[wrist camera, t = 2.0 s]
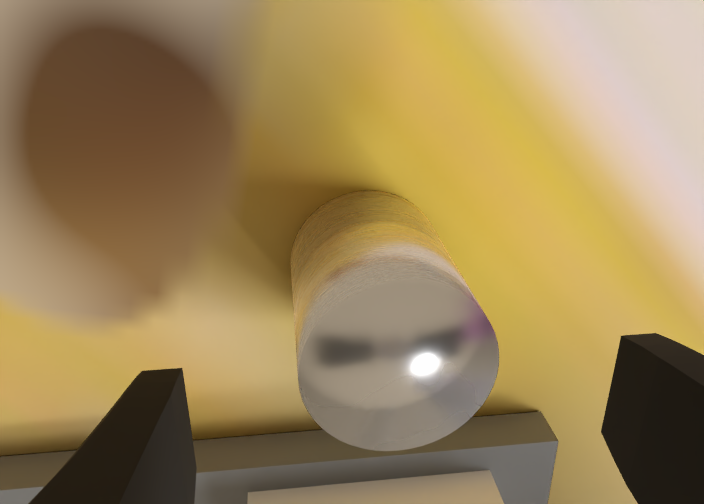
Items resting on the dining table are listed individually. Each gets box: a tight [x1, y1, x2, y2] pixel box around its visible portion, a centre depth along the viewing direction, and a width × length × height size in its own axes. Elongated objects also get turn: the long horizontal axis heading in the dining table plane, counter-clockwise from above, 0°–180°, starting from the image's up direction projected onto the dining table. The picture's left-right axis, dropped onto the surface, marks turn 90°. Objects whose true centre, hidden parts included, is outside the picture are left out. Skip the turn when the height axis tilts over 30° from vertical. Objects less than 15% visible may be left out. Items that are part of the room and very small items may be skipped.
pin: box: [291, 191, 499, 451], centre depth 13 cm, size 4×4×4 cm
